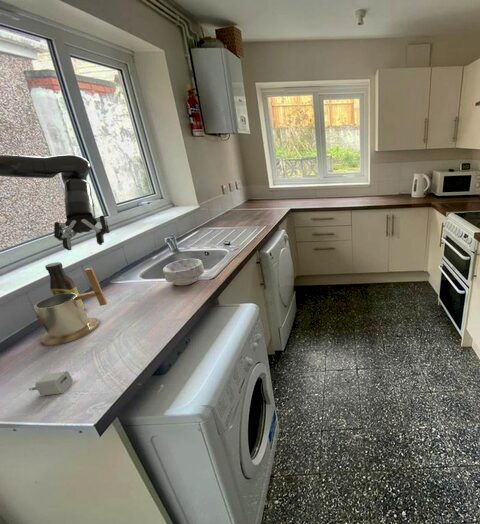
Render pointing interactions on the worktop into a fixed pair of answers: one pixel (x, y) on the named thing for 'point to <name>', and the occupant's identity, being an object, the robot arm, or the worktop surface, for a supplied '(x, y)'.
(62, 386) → the usb wall charger
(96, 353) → the worktop surface
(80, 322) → the flanged cylinder with handle
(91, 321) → the turntable
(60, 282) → the sauce bottle
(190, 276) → the white purple floral bowl
